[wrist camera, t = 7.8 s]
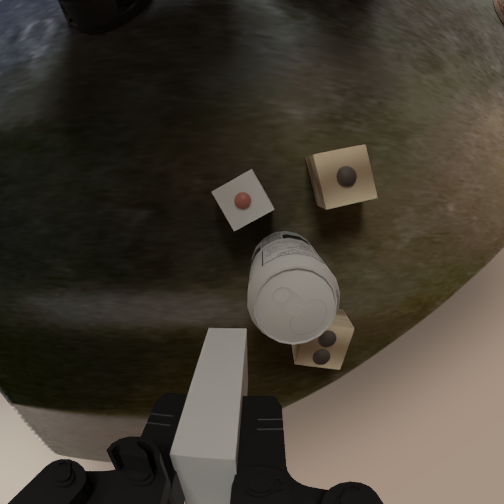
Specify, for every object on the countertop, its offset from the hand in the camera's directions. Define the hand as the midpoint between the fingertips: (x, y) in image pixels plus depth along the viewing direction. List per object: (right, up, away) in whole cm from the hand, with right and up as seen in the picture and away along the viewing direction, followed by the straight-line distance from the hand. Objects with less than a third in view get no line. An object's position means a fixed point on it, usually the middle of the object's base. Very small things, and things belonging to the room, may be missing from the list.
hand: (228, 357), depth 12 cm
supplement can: (+5, +3, +28) cm, 29 cm away
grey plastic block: (0, +11, +27) cm, 29 cm away
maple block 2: (+10, -6, +30) cm, 32 cm away
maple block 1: (+11, +14, +26) cm, 31 cm away
